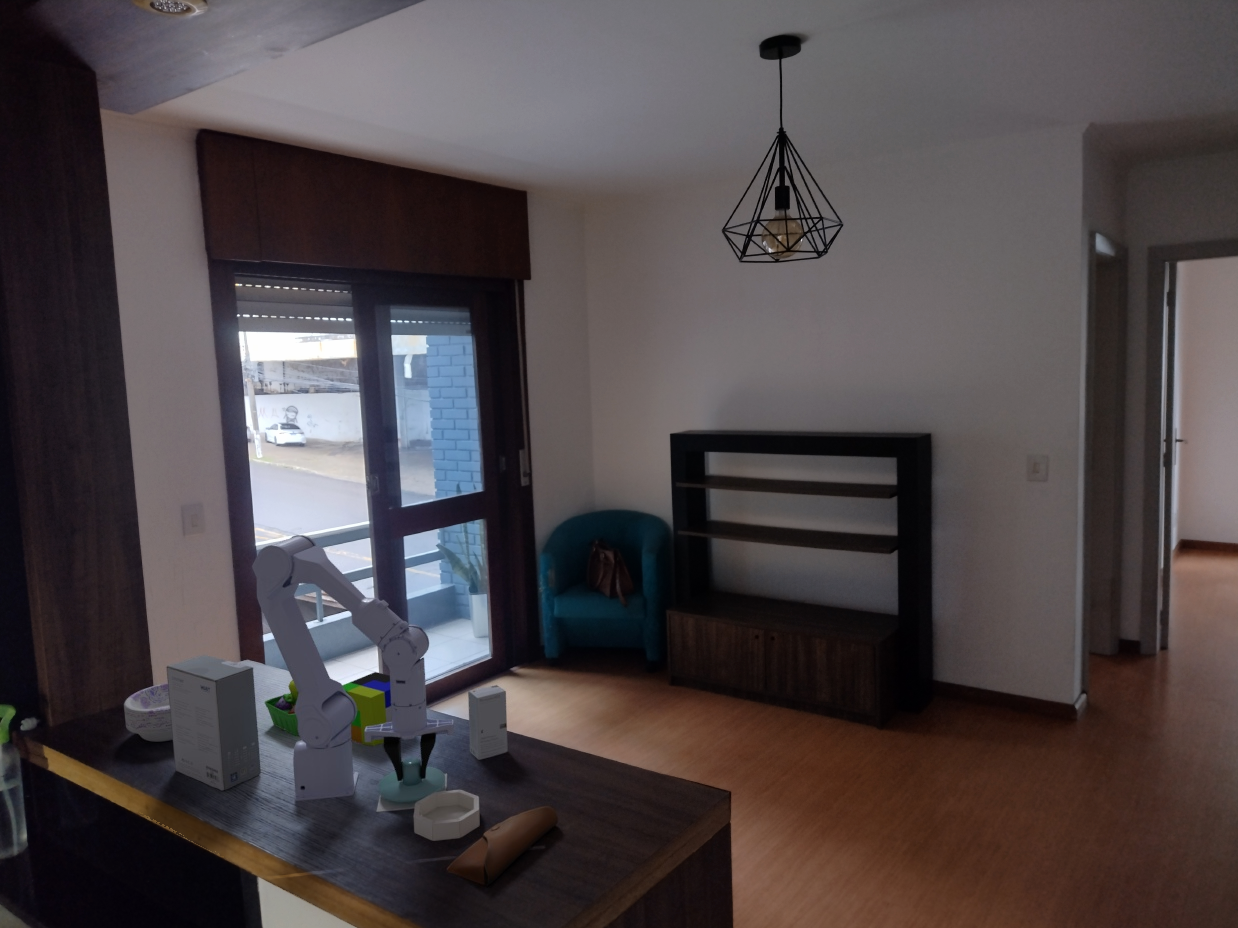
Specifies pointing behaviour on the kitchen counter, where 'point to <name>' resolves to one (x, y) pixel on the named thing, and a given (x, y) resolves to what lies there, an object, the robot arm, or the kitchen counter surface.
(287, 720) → the fruit basket
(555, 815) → the sunglasses case
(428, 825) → the bowl
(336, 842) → the kitchen counter surface
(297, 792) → the robot arm
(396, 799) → the lid
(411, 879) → the kitchen counter surface
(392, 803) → the plate
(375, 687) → the puzzle toy
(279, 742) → the kitchen counter surface
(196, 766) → the hard drive box
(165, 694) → the paper bowls
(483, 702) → the skincare box
